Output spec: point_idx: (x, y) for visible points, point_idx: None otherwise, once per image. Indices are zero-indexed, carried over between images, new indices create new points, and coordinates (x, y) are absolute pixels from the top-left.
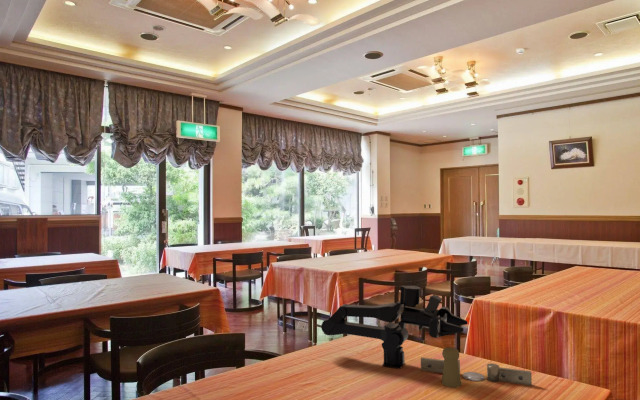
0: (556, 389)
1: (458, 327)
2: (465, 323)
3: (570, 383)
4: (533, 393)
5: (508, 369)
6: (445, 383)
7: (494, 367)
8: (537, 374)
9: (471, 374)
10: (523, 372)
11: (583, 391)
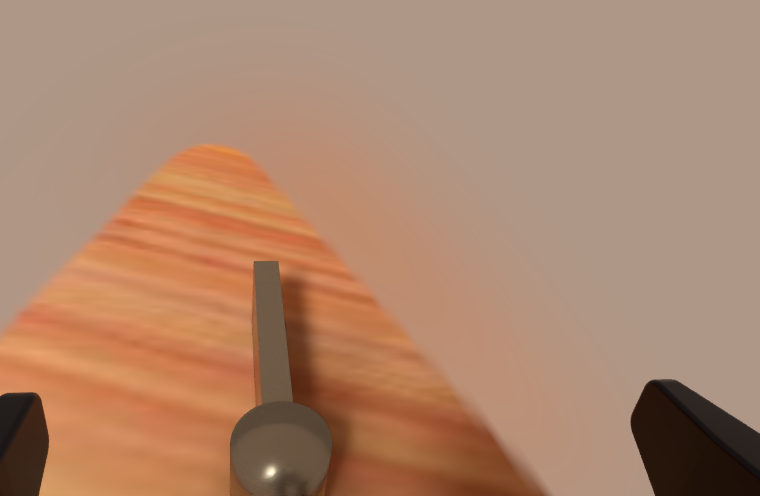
0: (269, 245)
1: (756, 444)
2: (41, 462)
3: (164, 204)
4: (377, 315)
5: (282, 356)
6: None
7: (326, 426)
8: (68, 296)
9: None
10: (281, 293)
11: (243, 184)
